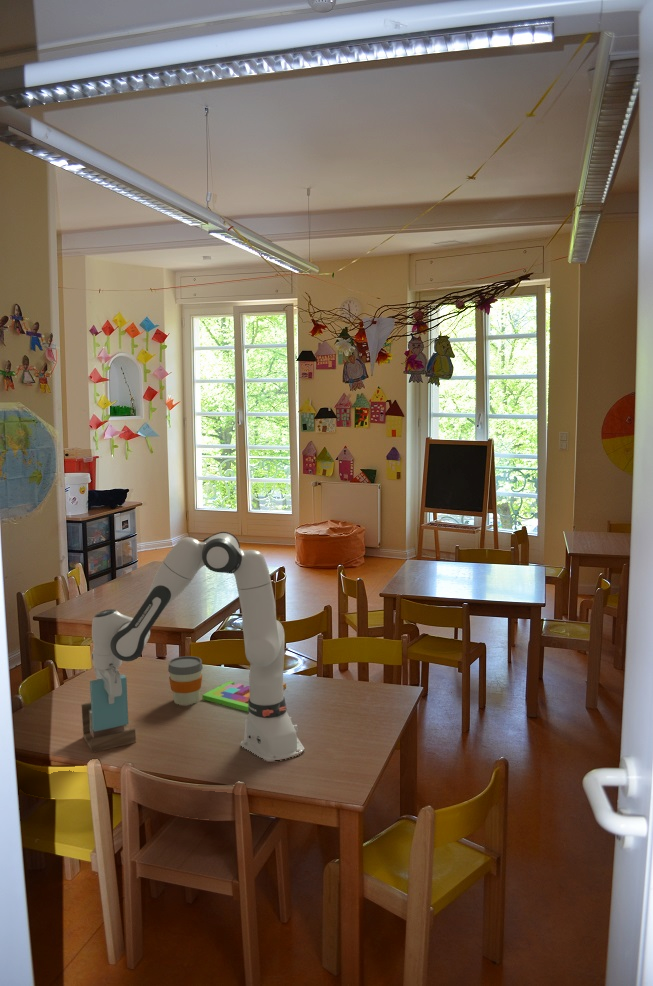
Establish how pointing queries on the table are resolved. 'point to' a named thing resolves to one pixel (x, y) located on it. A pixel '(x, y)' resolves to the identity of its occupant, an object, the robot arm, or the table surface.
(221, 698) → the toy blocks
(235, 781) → the table surface
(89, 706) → the stand
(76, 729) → the table surface
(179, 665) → the reusable coffee cup
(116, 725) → the teal book
